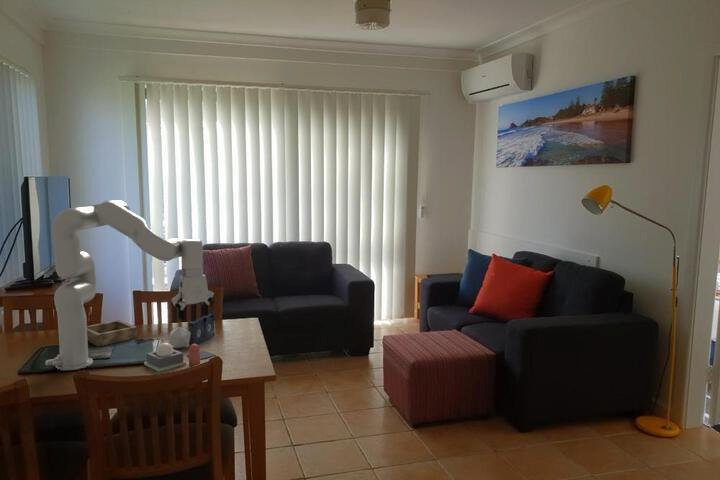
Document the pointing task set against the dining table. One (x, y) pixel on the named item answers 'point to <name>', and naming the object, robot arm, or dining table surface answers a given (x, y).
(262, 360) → the dining table surface
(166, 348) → the popper dome
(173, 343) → the die
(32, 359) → the dining table surface
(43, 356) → the dining table surface
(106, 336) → the snack corral
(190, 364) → the pawn
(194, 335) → the vhs cassette tape
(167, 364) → the popper base
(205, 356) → the coaster
